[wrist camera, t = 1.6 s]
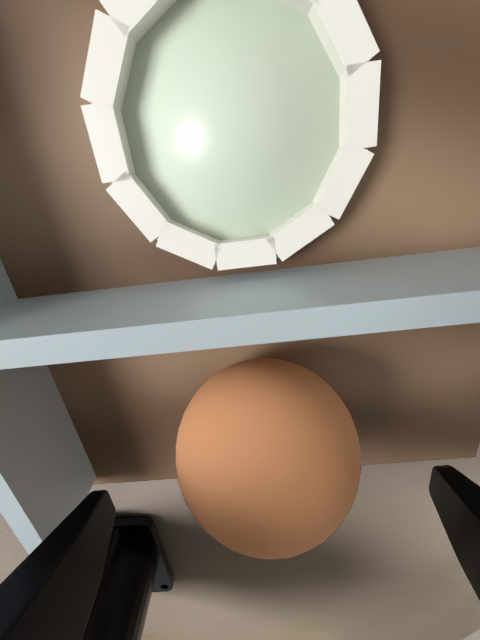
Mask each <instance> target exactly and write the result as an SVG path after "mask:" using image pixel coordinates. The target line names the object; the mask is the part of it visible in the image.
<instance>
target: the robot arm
mask: <svg viewBox="0 0 480 640" xmlns="http://www.w3.org/2000/svg"><path fill="white" fill-rule="evenodd" d="M429 491H430V495H431V498H432V500H433V503H434V505H435V507H436V510H437V512H438V514H439V517H440V519H441V521H442V524H443V526H444V528H445V531H446V533H447V535H448V538H449V540H450V542H451V545H452V547H453V549H454V551H455V554H456V556H457V558H458V560H459V562H460V564H461V566H462V568H463V570H464V572H465V574H466V576H467V578H468V580H469V581H470V583H471V585H472V587H473V589H474V591H475V593H476V594H477V596H478V598H479V600H480V486H478V485H477V484H476V483H474V482H473V481H472V480H470V479H469V478H467V477H466V476H465V475H463V474H462V473H460V472H459V471H458V470H456V469H455V468H453V467H452V466H449V465H444V466H435V467H434V468H433V469H432V474H431V479H430V484H429ZM115 514H116V512H115V507H114V505H113V502H112V500H111V498H110V495H109V493H108V492H107V491H106V490H99V491H93V492H91V493H89V494H88V495H87V496H86V497H85V498H84V499H83V500H82V501H81V503H80V504H79V505H78V506H77V507H76V508H75V509H74V510H73V511H72V512H71V513H70V514H69V515H68V516H67V517H66V518H65V519H64V520H63V521H62V522H61V523H60V524H59V525H58V526H57V527H56V528H55V529H54V530H53V531H52V532H51V533H50V534H49V535H48V536H47V537H46V538H45V539H44V540H43V541H42V542H41V543H40V544H39V545H38V546H37V547H36V548H35V549H34V550H33V551H32V552H31V553H30V554H29V555H28V556H27V557H26V559H25V560H24V561H23V562H22V563H21V564H20V565H19V566H18V567H17V568H16V569H15V570H14V571H13V572H12V573H11V574H10V575H9V576H8V577H7V578H6V579H5V580H4V581H3V582H2V583H1V584H0V640H141V637H142V633H143V628H144V624H145V619H146V615H147V611H148V606H149V602H150V597H151V593H152V592H163V591H170V590H172V588H173V582H174V578H173V575H172V573H171V570H170V567H169V564H168V562H167V559H166V556H165V553H164V551H163V548H162V545H161V543H160V540H159V537H158V534H157V532H156V529H155V526H154V523H153V522H152V520H150V519H149V518H146V517H137V518H122V519H115Z"/></svg>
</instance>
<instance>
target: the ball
mask: <svg viewBox="0 0 480 640" xmlns="http://www.w3.org/2000/svg"><path fill="white" fill-rule="evenodd" d="M176 470H177V476H178V481H179V485H180V488H181V491H182V494H183V496H184V499H185V501H186V503H187V505H188V507H189V509H190V511H191V512H192V514H193V516H194V517H195V519H196V520H197V521H198V522H199V523H200V525H201V526H202V527H203V528H204V530H205V531H206V532H207V533H208V534H210V535H211V536H212V537H213V538H214V539H216V540H217V541H218V542H219V543H221V544H222V545H224V546H225V547H227V548H229V549H231V550H233V551H235V552H238V553H240V554H242V555H245V556H249V557H253V558H258V559H269V560H270V559H285V558H290V557H294V556H298V555H300V554H303V553H305V552H307V551H309V550H311V549H313V548H315V547H316V546H318V545H320V544H321V543H323V542H324V541H325V540H326V539H328V538H329V537H330V536H331V535H332V534H333V533H334V532H335V531H336V530H337V529H338V527H339V526H340V525H341V523H342V522H343V521H344V519H345V517H346V516H347V514H348V512H349V511H350V509H351V507H352V504H353V502H354V499H355V496H356V493H357V490H358V486H359V480H360V474H361V450H360V444H359V439H358V434H357V431H356V428H355V425H354V422H353V420H352V417H351V415H350V413H349V411H348V409H347V408H346V406H345V404H344V403H343V401H342V400H341V398H340V397H339V396H338V394H337V393H336V392H335V391H334V390H333V389H332V388H331V386H330V385H329V384H328V383H326V382H325V381H324V380H323V379H322V378H320V377H319V376H318V375H317V374H315V373H313V372H312V371H310V370H309V369H307V368H304V367H302V366H300V365H298V364H295V363H292V362H289V361H286V360H281V359H274V358H256V359H249V360H245V361H241V362H238V363H235V364H233V365H230V366H228V367H226V368H225V369H223V370H221V371H219V372H218V373H216V374H215V375H214V376H212V377H211V378H210V379H208V380H207V381H206V382H205V383H204V384H203V385H202V386H201V387H200V389H199V390H198V391H197V392H196V394H195V395H194V396H193V398H192V399H191V401H190V403H189V405H188V406H187V408H186V410H185V412H184V415H183V418H182V420H181V423H180V426H179V430H178V435H177V441H176Z"/></svg>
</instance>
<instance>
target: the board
mask: <svg viewBox="0 0 480 640" xmlns="http://www.w3.org/2000/svg"><path fill="white" fill-rule="evenodd" d="M256 358H274V359H281V360H286V361H289V362H292V363H295V364H298V365H300V366H302V367H304V368H307V369H309V370H310V371H312V372H313V373H315V374H317V375H318V376H319V377H320V378H322V379H323V380H324V381H325V382H326V383H328V384H329V385H330V386H331V388H332V389H333V390H334V391H335V392H336V393H337V394H338V396H339V397H340V398H341V400H342V401H343V403H344V404H345V406H346V408H347V409H348V411H349V413H350V415H351V417H352V420H353V422H354V425H355V428H356V431H357V434H358V439H359V444H360V450H361V465H371V464H385V463H398V462H412V461H426V460H440V459H454V458H468V457H476V453H477V449H478V445H479V441H480V0H0V512H1V514H2V515H3V517H4V518H5V520H6V521H7V523H8V524H9V526H10V527H11V529H12V530H13V532H14V533H15V535H16V536H17V538H18V539H19V541H20V542H21V544H22V545H23V547H24V548H25V550H26V551H27V553H28V554H30V553H31V552H32V551H33V550H34V549H35V548H36V547H37V546H38V545H39V544H40V543H41V542H42V541H43V540H44V539H45V538H46V537H47V536H48V535H49V534H50V533H51V532H52V531H53V530H54V529H55V528H56V527H57V526H58V525H59V524H60V523H61V522H62V521H63V520H64V519H65V518H66V517H67V516H68V515H69V514H70V513H71V512H72V511H73V510H74V509H75V508H76V507H77V506H78V505H79V504H80V503H81V501H82V500H83V499H84V498H85V497H86V496H87V495H88V493H89V491H90V489H91V487H92V485H93V484H107V483H121V482H135V481H148V480H162V479H176V478H178V476H177V470H176V441H177V435H178V430H179V426H180V423H181V420H182V418H183V415H184V412H185V410H186V408H187V406H188V405H189V403H190V401H191V399H192V398H193V396H194V395H195V394H196V392H197V391H198V390H199V389H200V387H201V386H202V385H203V384H204V383H205V382H206V381H207V380H208V379H210V378H211V377H212V376H214V375H215V374H216V373H218V372H219V371H221V370H223V369H225V368H226V367H228V366H230V365H233V364H235V363H238V362H241V361H245V360H249V359H256Z"/></svg>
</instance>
